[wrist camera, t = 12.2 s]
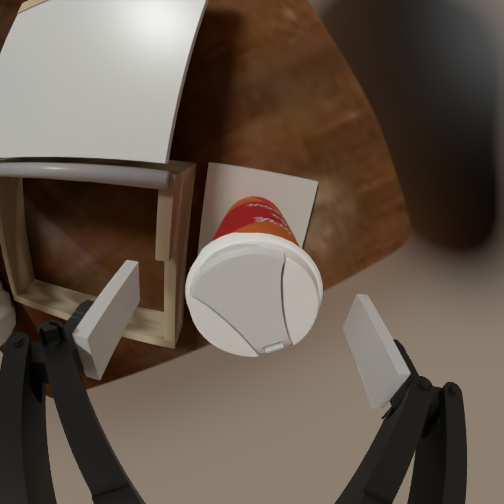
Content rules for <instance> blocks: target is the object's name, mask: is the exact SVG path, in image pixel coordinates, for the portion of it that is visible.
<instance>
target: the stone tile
mask: <svg viewBox="0 0 504 504" xmlns="http://www.w3.org/2000/svg"><path fill="white" fill-rule="evenodd" d="M317 185H318V181H315V180H310V179H306V178H301V177H296V176H291V175H286V174H281V173H276V172H271V171H265V170H260V169H254V168H248V167H242V166H235V165H229V164H222V163H215V162H209V164H208V172H207V179H206V186H205V194H204V202H203V210H202V218H201V227H200V236H199V246H198V255H199V254H200V252H201V250H202V249H203V248H204V247H205V246H207V245H208V244H209V243H210V242H211V241H212V239H213V237H214V235H215V233H216V231H217V229H218V228H219V226H220V224H221V222H222V220H223V219H224V217H225V215H226V214H227V212H228V211H229V209H230V208H231V207H232V206H233V205H234V204H235V203H236V202H237V201H239V200H241V199H243V198H246V197H251V196H257V197H262V198H265V199H267V200H269V201H271V202H272V203H273V204H275V205H276V206H277V208H278V209H279V210H280V212H281V213H282V215H283V217H284V218H285V220H286V222H287V224H288V226H289V227H290V229H291V231H292V233H293V235H294V237H295V239H296V240H297V242H298V244H299V246H300V248H301V249H302V246H303V242H304V238H305V234H306V230H307V226H308V222H309V218H310V214H311V210H312V206H313V202H314V198H315V194H316V190H317ZM197 257H198V256H197Z"/></svg>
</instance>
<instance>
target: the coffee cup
mask: <svg viewBox="0 0 504 504" xmlns="http://www.w3.org/2000/svg"><path fill="white" fill-rule="evenodd" d="M185 295H186V301H187V305H188V308H189V310H190V314H191V317H192V320H193V322H194V324H195V326H196V327H197V329H198V331H199V332H200V333H201V334H202V335H203V337H204V338H205V339H207V340H208V341H209V342H210V343H211V344H213V345H215V346H216V347H218V348H220V349H222V350H224V351H226V352H229V353H232V354H236V355H241V356H248V357H258V356H259V353H260V354H261V353H265V352H266V353H267V354H268V353H272V352H275V351H278V350H282V349H285V346H286V345H289V344H291V342H292V343H293V345H295V344H296V343H298V342H299V341H300V340H301V339H302V338H303V337H305V335H306V334H307V333H308V332H309V330H310V329H311V328H312V326H313V324H314V322H315V320H316V317H317V314H318V310H319V308H320V304H321V302H322V295H323V287H322V280H321V276H320V273H319V271H318V269H317V267H316V265H315V263H314V262H313V260H312V259H311V258H310V256H309V255H308V254H307V253H306V252H305V251H304V250H303V249H301V248H300V246H299V244H298V242H297V240H296V239H295V237H294V235H293V233H292V231H291V229H290V227H289V226H288V224H287V222H286V220H285V218H284V217H283V215H282V213H281V212H280V210H279V209H278V208H277V206H276V205H275V204H273V203H272V202H271V201H269V200H267V199H265V198H262V197H257V196H251V197H246V198H243V199H241V200H239V201H237V202H236V203H235V204H234V205H233V206H232V207H231V208H230V209H229V211H228V212H227V214H226V215H225V217H224V219H223V220H222V222H221V224H220V226H219V228H218V229H217V231H216V233H215V235H214V237H213V239H212V241H211V242H210V243H209V244H208V245H207V246H205V247H204V248H203V249H202V250H201V252H200V254H199V255H198V257H197V259H196V260H195V262H194V263H193V265H192V266H191V269H190V271H189V273H188V276H187V280H186V285H185Z"/></svg>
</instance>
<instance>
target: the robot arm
mask: <svg viewBox="0 0 504 504" xmlns="http://www.w3.org/2000/svg"><path fill="white" fill-rule="evenodd" d="M139 302H140V291H139V263H138V262H136V261H130V260H126V261H125V263H124V264H123V265H122V266H121V268H120V269H119V270H118V271H117V273H116V274H115V275H114V277H113V278H112V279H111V280H110V282H109V283H108V284H107V286H106V287H105V288H104V290H103V291H102V292H101V294H100V295H99V296H98V298H97V299H96V301H92V300H88V299H87V300H85V301H84V302H82V303H81V304H80V305H79V306H78V307H77V308H76V310H75V312H73V314H72V315H71V317H70V318H69V319H68V320H67V322H66V323H65V325H64V326H63V325H62V323H60V322H59V321H56V320H48V321H45V322H43V323H42V324H40V325H39V327H38V329H37V335H38V338H39V340H40V342H38V341H30V340H29V338H28V336H27V334H25V333H23V332H16V333H13V334H11V335H10V336H9V337H8V339H7V341H6V344H5V349H4V353H3V358H2V363H1V369H0V504H57V503H56V499H55V494H54V488H53V483H52V477H51V471H50V463H49V455H48V446H47V434H46V411H45V410H46V407H45V394H46V384H50V386H51V390H52V394H53V397H54V401H55V404H56V408H57V411H58V414H59V417H60V420H61V423H62V426H63V429H64V432H65V434H66V437H67V440H68V443H69V445H70V448H71V450H72V453H73V455H74V457H75V459H76V462H77V464H78V466H79V469H80V471H81V473H82V475H83V477H84V479H85V481H86V483H87V485H88V487H89V489H90V491H91V494H92V500H93V502H94V504H146V503H145V502H144V500H143V499H142V498H141V496H140V495H139V493H138V492H137V490H136V489H135V487H134V486H133V484H132V482H131V481H130V479H129V478H128V476H127V474H126V473H125V471H124V469H123V467H122V466H121V464H120V462H119V460H118V459H117V457H116V455H115V453H114V451H113V450H112V447H111V445H110V444H109V442H108V440H107V438H106V436H105V434H104V431H103V429H102V427H101V425H100V423H99V421H98V418H97V416H96V415H95V412H94V409H93V407H92V404H91V402H90V400H89V397H88V395H87V392H86V389H85V387H84V384H83V381H82V378H81V376H80V374H81V372H82V370H83V369H84V372H85V375H86V376H87V377H90V378H93V379H96V380H100V379H101V377H102V375H103V373H104V371H105V369H106V367H107V364H108V362H109V360H110V358H111V356H112V354H113V352H114V350H115V348H116V346H117V344H118V342H119V340H120V338H121V336H122V334H123V332H124V330H125V328H126V326H127V324H128V322H129V320H130V318H131V317H132V315H133V313H134V311H135V309H136V307H137V305H138V303H139ZM342 329H343V331H344V334H345V336H346V339H347V342H348V344H349V347H350V350H351V352H352V355H353V357H354V360H355V363H356V366H357V368H358V371H359V374H360V377H361V379H362V382H363V385H364V388H365V391H366V394H367V396H368V399H369V402H370V405H371V408H372V409H379V408H384V407H385V406H386V405H387V404H388V402H389V401H390V403H391V405H392V407H391V408H390V409H389V410H388V411H387V412H386V413H385V415H384V416H383V417H382V419H384V418H385V419H384V421H383V423H382V425H381V427H380V429H379V431H378V433H377V435H376V437H375V439H374V441H373V443H372V444H371V446H370V448H369V450H368V452H367V454H366V455H365V457H364V459H363V461H362V462H361V464H360V466H359V467H358V469H357V471H356V472H355V474H354V476H353V477H352V479H351V480H350V482H349V483H348V485H347V486H346V488H345V489H344V491H343V492H342V494H341V495H340V497H339V498H338V499H337V501H336V502H335V504H392V502H393V500H394V498H395V496H396V494H397V492H398V490H399V487H400V486H401V484H402V481H403V479H404V477H405V475H406V472H407V470H408V467H409V465H410V462H411V460H412V457H413V455H414V452H415V461H414V468H413V475H412V481H411V487H410V493H409V498H408V503H407V504H465V498H466V482H467V441H466V425H465V414H464V405H463V397H462V392H461V389H460V388H459V386H458V385H457V384H455V383H453V382H447V383H446V384H445V385H444V386H443V388H439V387H434V386H433V385H432V383H431V382H430V381H429V380H428V379H427V378H425V377H422V376H419V375H418V373H417V371H416V369H415V367H414V365H413V363H412V362H411V360H410V359H409V356H408V355H407V354H406V351H405V349H404V347H403V345H401V344H400V343H399V341H398V340H393V339H392V337H391V335H390V333H389V332H388V330H387V328H386V326H385V325H384V323H383V321H382V319H381V317H380V316H379V314H378V313H377V311H376V309H375V307H374V305H373V304H372V302H371V300H370V299H369V297H368V295H361V294H357V295H356V298H355V300H354V302H353V305H352V307H351V309H350V312H349V314H348V316H347V319H346V321H345V323H344V325H343V328H342ZM415 449H416V451H415Z"/></svg>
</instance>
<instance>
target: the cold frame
mask: <svg viewBox="0 0 504 504" xmlns="http://www.w3.org/2000/svg"><path fill="white" fill-rule="evenodd" d="M8 162H48V163H79V164H97V165H112V166H125V167H136V168H147V169H157V170H166V171H170V173H171V175H170V182H169V187H168V189H167V190H164V189H159V194H158V208H157V226H156V257H155V260H160V261H165V274H164V312H161V311H156V310H151V309H146V308H142V307H136V309H135V311H134V313H133V315H132V317H131V318H130V320H129V322H128V324H127V326H126V328H125V330H124V332H123V334H122V337H126V338H129V339H133V340H137V341H142V342H146V343H150V344H154V345H159V346H164V347H168V348H173V349H175V346H176V343H177V340H178V337H179V334H180V331H181V328H182V325H183V314H184V293H185V276H186V262H187V249H188V237H189V226H190V216H191V207H192V198H193V189H194V181H195V173H196V165H197V163H193V162H185V161H176V160H169V162H168V164H165V163H155V162H144V161H132V160H119V159H103V158H81V157H8V158H1V159H0V163H8ZM23 178H32V177H8V176H0V243H1V248H2V253H3V258H4V263H5V267H6V271H7V275H8V279H9V283H10V287H11V290H12V294H13V297H14V300H15V301H17V302H20V303H22V304H24V305H27V306H29V307H32V308H35V309H37V310H40V311H43V312H45V313H48V314H51V315H53V316H56V317H59V318H62V319H65V320H68V319H69V318H70V317H71V315H72V314H73V312H75V310H76V308H77V307H78V306H79V305H80V304H81V303H82V302H84V301H85V300H87V299H88V300H92V301H96V299H97V298H98V297H96V296H92V295H88V294H85V293H81V292H77V291H74V290H70V289H67V288H63V287H60V286H56V285H53V284H50V283H46V282H43V281H40V280H37V279H35V276H34V271H33V266H32V261H31V256H30V250H29V244H28V237H27V229H26V221H25V211H24V198H23ZM41 179H50V178H41ZM57 180H65V179H57ZM71 181H78V180H71ZM83 182H90V181H83ZM95 183H101V182H95ZM106 184H111V183H106ZM116 185H121V184H116ZM125 186H130V185H125ZM134 187H139V186H134ZM143 188H148V187H143ZM151 189H156V188H151Z"/></svg>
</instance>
